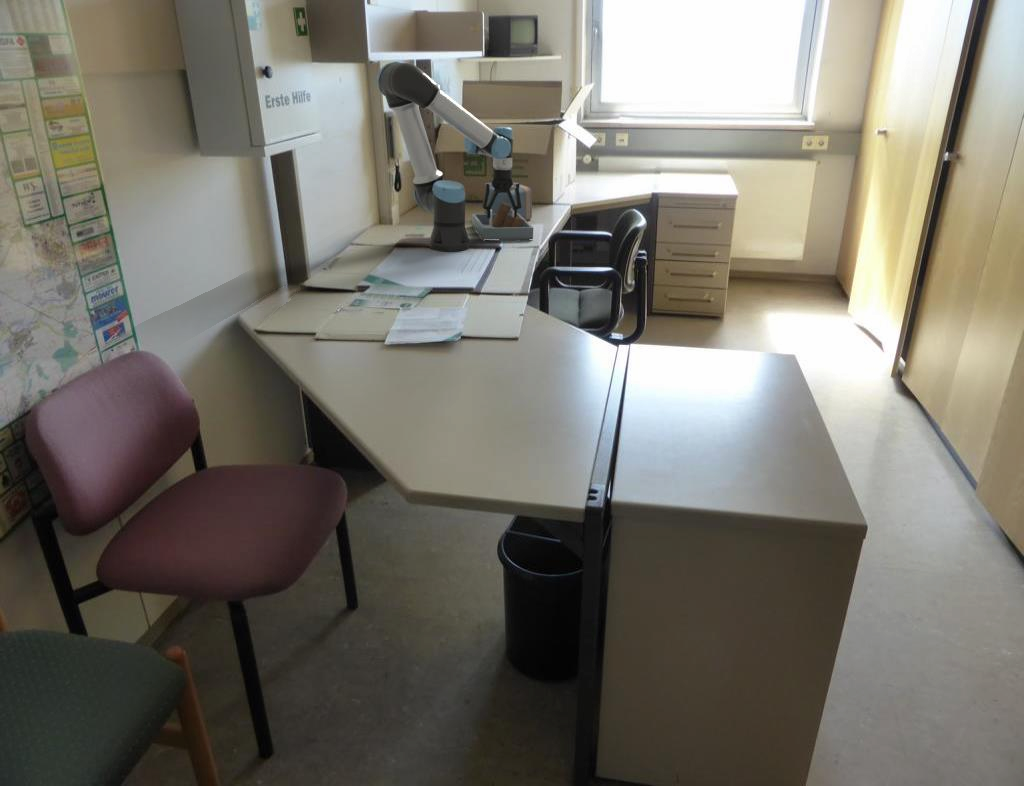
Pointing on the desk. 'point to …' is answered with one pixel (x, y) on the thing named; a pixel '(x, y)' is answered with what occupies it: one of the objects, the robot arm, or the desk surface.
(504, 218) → the wooden block set
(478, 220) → the crate
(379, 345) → the desk surface
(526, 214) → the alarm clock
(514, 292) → the desk surface
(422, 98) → the robot arm
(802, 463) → the desk surface
